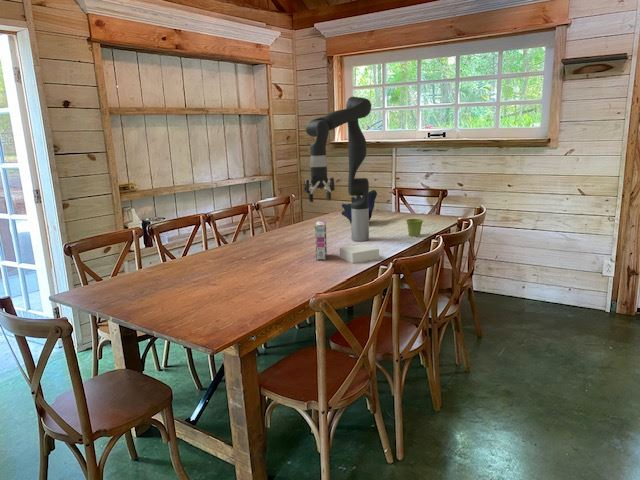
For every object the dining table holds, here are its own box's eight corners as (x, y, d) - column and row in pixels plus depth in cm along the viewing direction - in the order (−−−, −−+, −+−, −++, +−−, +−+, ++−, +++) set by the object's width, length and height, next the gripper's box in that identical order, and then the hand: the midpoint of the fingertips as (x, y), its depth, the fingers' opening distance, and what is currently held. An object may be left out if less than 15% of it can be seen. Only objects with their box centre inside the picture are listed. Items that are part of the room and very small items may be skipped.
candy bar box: (326, 260, 217) (325, 225, 214) (316, 260, 218) (314, 225, 214) (327, 254, 228) (326, 220, 225) (317, 254, 229) (315, 221, 225)
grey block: (339, 258, 221) (339, 247, 220) (365, 254, 227) (365, 243, 226) (352, 264, 211) (352, 253, 210) (379, 259, 217) (378, 248, 216)
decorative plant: (349, 240, 297) (347, 219, 324) (387, 224, 292) (382, 204, 318) (335, 213, 288) (334, 194, 315) (374, 196, 283) (370, 178, 309)
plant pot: (424, 234, 264) (425, 218, 262) (420, 237, 256) (421, 222, 254) (408, 233, 268) (408, 218, 266) (404, 236, 260) (404, 221, 258)
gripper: (328, 164, 220) (330, 198, 223) (300, 166, 214) (302, 201, 217) (336, 165, 213) (337, 200, 217) (307, 167, 207) (309, 203, 211)
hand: (319, 201), depth 217 cm, fingers open, 8 cm apart
